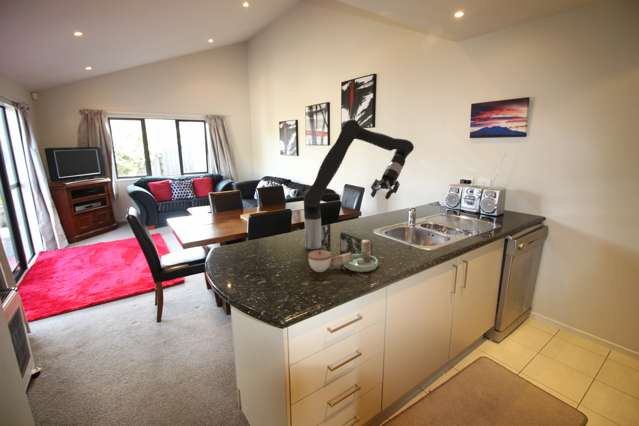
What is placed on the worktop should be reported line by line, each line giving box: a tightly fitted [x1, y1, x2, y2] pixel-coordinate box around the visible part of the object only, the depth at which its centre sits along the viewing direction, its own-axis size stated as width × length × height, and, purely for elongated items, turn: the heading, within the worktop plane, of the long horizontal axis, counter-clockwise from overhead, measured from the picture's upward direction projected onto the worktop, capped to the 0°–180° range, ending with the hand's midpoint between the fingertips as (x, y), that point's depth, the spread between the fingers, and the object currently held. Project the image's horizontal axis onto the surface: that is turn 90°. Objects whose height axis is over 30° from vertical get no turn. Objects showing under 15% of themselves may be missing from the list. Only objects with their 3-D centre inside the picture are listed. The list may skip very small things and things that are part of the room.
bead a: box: [360, 239, 372, 262], centre depth 149 cm, size 4×4×10 cm
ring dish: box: [343, 253, 379, 273], centre depth 147 cm, size 16×16×3 cm
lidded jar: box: [307, 249, 332, 273], centre depth 142 cm, size 11×11×9 cm
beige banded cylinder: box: [331, 251, 353, 268], centre depth 143 cm, size 4×4×10 cm
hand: (379, 197), depth 153 cm, fingers open, 8 cm apart
